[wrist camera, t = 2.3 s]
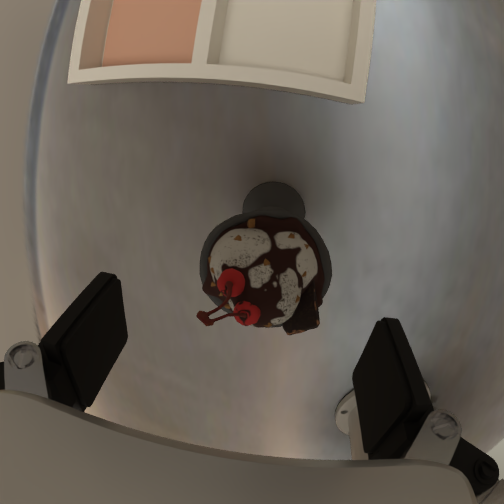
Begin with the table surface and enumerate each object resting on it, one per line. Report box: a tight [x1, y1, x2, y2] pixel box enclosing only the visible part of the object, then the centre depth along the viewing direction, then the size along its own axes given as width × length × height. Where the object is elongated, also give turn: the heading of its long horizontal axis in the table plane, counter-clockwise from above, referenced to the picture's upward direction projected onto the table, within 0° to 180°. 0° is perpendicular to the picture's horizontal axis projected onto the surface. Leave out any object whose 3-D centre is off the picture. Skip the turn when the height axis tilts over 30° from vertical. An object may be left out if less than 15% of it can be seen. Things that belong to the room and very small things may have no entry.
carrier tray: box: [68, 0, 376, 105], centre depth 17 cm, size 21×11×4 cm, turn 83°
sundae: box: [197, 182, 332, 335], centre depth 18 cm, size 7×7×15 cm
